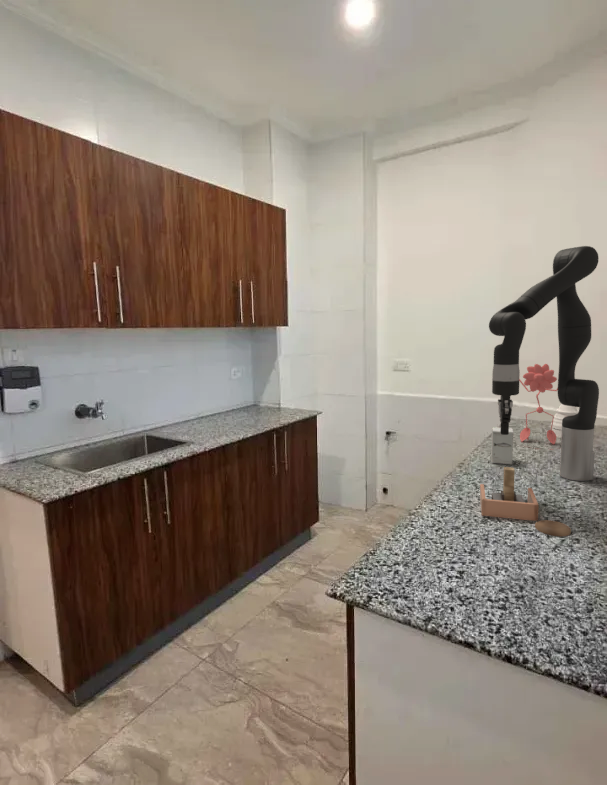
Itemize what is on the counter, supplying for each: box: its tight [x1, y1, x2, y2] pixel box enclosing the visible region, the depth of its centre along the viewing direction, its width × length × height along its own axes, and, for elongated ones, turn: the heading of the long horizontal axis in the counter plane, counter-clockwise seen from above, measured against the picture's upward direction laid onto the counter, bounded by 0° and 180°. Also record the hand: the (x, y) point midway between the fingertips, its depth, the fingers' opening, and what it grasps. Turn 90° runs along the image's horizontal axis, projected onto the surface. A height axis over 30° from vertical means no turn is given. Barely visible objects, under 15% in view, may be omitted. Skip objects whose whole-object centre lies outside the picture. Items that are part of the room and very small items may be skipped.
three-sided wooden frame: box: [479, 483, 540, 522], centre depth 127 cm, size 14×13×4 cm
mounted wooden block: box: [491, 466, 525, 502], centre depth 127 cm, size 8×8×12 cm
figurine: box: [519, 363, 561, 451], centre depth 190 cm, size 15×26×35 cm, turn 54°
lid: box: [534, 519, 572, 537], centre depth 114 cm, size 8×8×1 cm
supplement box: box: [490, 426, 514, 465], centre depth 170 cm, size 7×7×13 cm
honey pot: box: [550, 403, 579, 439], centre depth 205 cm, size 13×13×18 cm
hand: (504, 434), depth 138 cm, fingers closed
